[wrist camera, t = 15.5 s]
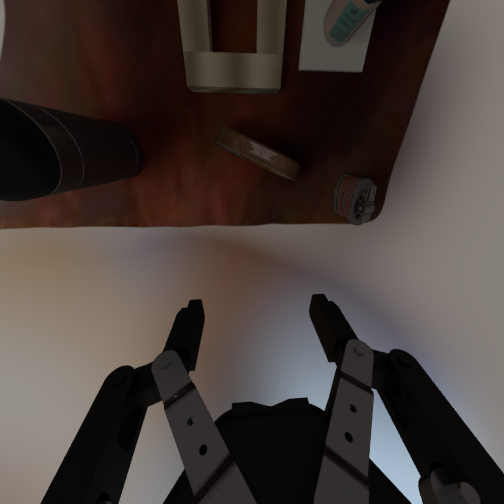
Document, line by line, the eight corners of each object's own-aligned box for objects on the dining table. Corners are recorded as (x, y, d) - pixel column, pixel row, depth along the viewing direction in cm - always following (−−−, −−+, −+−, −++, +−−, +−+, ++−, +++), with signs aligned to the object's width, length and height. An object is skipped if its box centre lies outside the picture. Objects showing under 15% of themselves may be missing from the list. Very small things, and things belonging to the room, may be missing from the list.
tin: (217, 146, 34) (208, 143, 26) (222, 127, 32) (215, 118, 25) (288, 180, 37) (298, 186, 29) (296, 164, 35) (309, 167, 28)
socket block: (192, 92, 30) (187, 85, 27) (177, -51, 23) (168, -78, 20) (277, 94, 30) (280, 88, 27) (287, -46, 23) (291, -72, 21)
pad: (298, 70, 29) (298, 69, 28) (308, -33, 24) (309, -36, 24) (360, 72, 29) (362, 71, 29) (382, -29, 24) (385, -32, 24)
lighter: (347, 212, 40) (375, 229, 31) (331, 214, 40) (355, 231, 31) (353, 173, 36) (387, 179, 27) (336, 175, 36) (364, 182, 27)
